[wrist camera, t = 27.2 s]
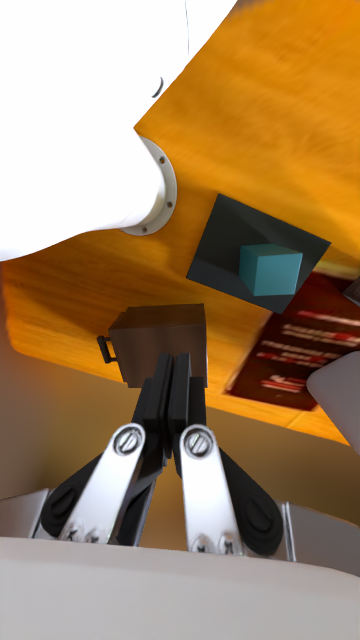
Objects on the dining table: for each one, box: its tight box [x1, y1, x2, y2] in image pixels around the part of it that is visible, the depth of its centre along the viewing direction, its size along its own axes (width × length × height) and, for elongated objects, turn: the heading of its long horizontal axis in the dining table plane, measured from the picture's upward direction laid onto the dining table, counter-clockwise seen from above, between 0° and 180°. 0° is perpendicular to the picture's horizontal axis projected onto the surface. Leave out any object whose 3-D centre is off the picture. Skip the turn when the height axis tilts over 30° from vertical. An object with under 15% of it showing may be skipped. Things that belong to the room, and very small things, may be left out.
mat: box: [186, 193, 331, 314], centre depth 33 cm, size 20×14×1 cm
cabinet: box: [112, 303, 208, 388], centre depth 38 cm, size 16×14×9 cm
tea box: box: [239, 244, 302, 296], centre depth 29 cm, size 5×5×10 cm
